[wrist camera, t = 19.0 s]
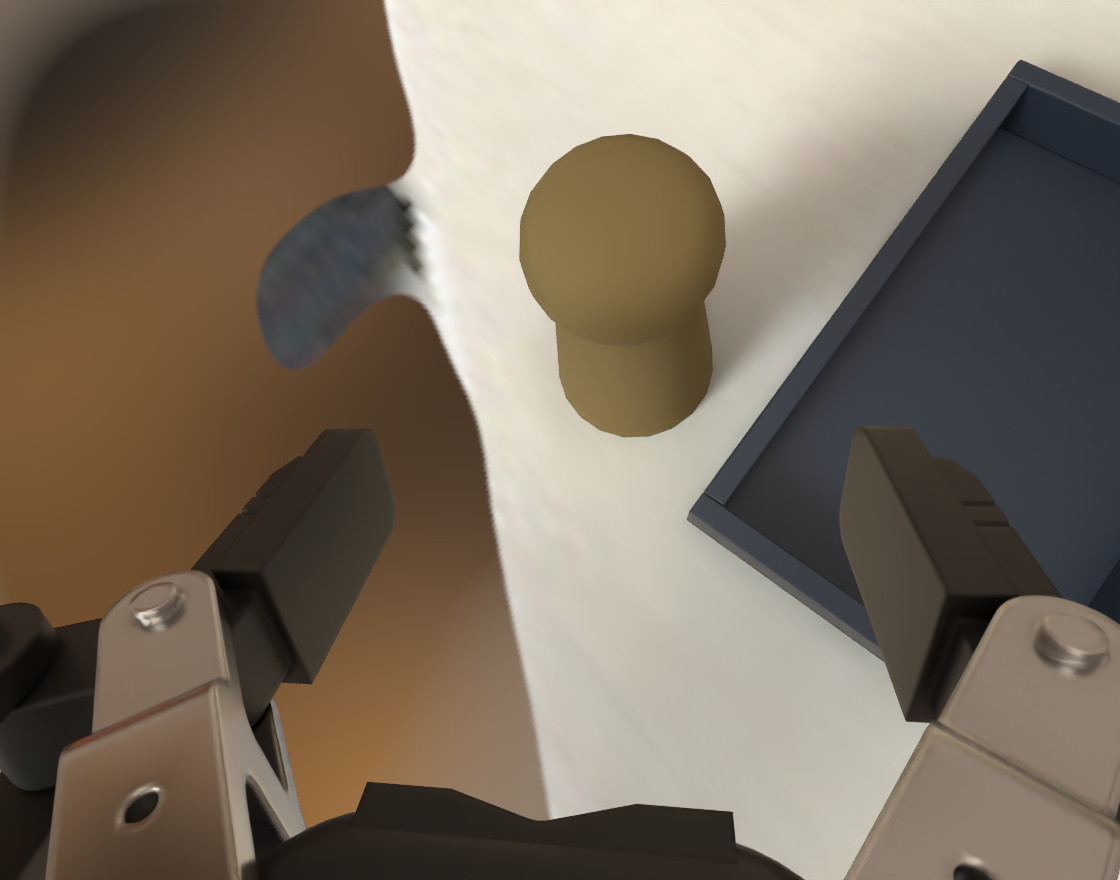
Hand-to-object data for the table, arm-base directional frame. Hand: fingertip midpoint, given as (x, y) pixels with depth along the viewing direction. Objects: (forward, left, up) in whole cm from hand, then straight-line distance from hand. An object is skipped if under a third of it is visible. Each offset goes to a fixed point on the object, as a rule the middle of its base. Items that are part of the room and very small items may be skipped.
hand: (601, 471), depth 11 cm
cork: (-5, -4, -14) cm, 15 cm away
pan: (-12, +8, -13) cm, 19 cm away
